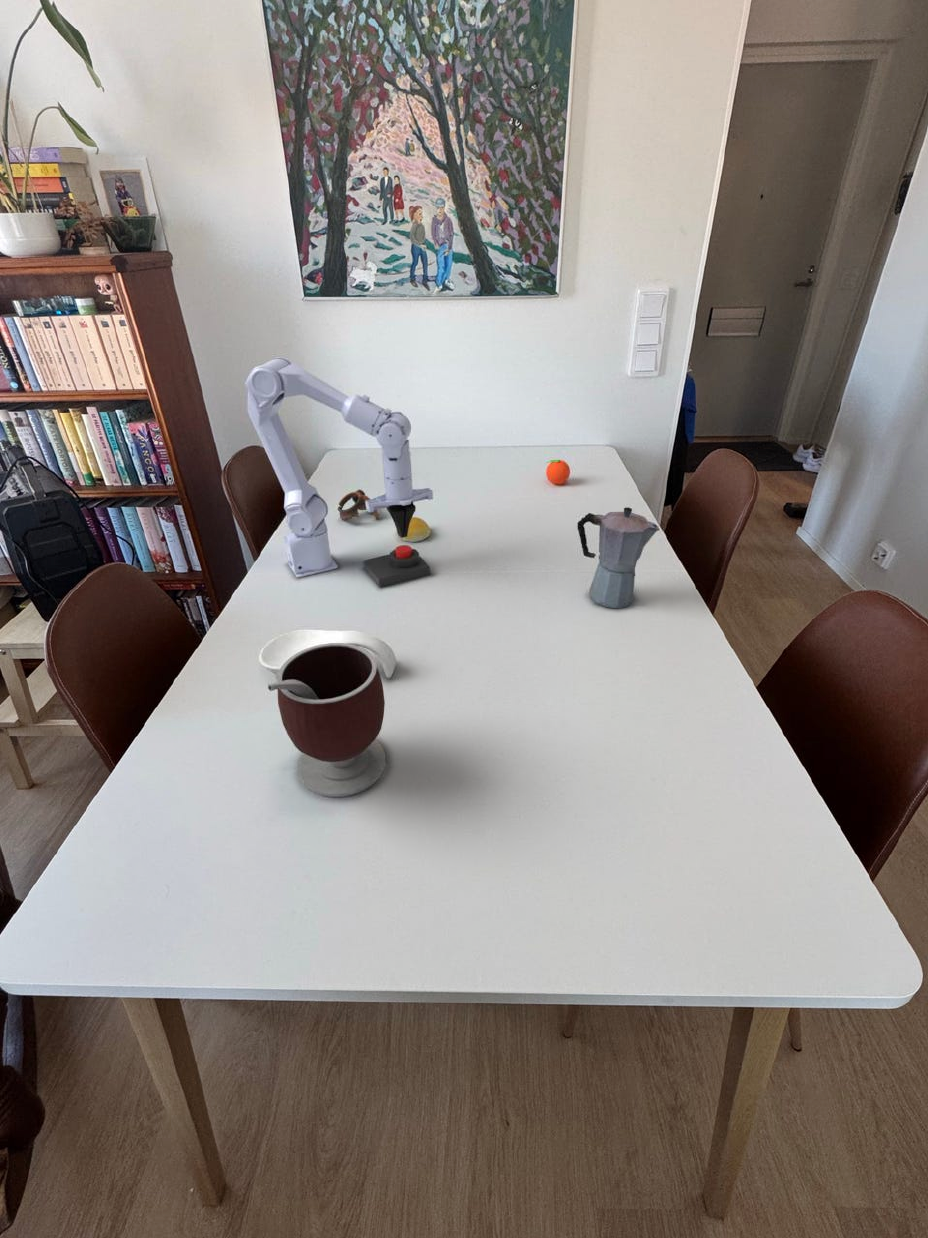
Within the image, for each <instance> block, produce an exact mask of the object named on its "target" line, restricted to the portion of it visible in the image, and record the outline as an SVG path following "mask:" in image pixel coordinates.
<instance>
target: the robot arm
mask: <svg viewBox="0 0 928 1238" xmlns="http://www.w3.org/2000/svg"><path fill="white" fill-rule="evenodd" d="M244 384H245V387H246V389H247V413H248V416H249V417H250V418H249V419H250V421H251V422H252V425H253V427H254V429H255V431H256V434H257V436H258V438H259V440H260V442H261V444H262V447H263V450H264V451H265V453H266V455H267V457H268V460H269V462H270V464H271V466H272V468H273V470H274V473H275V475H276V477H277V479H278V482H279V484H280V486H281V488H282V490H283V492H284V503H283V509H284V511H285V513H286V524H287V527H288V528H289V530H290V531H291V532H289V533H285V534H283V535H284V536H283V537H284V539H283V540H284V545H285V550H286V556H287V561H288V562H287V564H288V566H289V567H290V569H291V570H292V572H293V574H294V576H295V577H296V578H302V577H307V576H311V575H314V574H315V575H316V574H319V573H323V572H327V571H331V570H336V569H338V568H339V566H338V564H337V563H336V562H335V561H334V559H333V558H332V553H331V545H330V540H329V533H328V526H327V523H326V520H325V518H326V517H327V516H328V513H329V506H328V503H327V501H326V500H325V499H324V497H322V496H321V495H320V494H319V492H318V489H317V488H316V486H314V485H312V484H310V483H309V481H308V479H307V477H306V474H305V472H304V470H303V468H302V465H301V462H300V461H299V458H298V456H297V453H296V451H295V449H294V447H293V445H292V442H291V440H290V438H289V435H288V434H287V430H286V428H285V427H284V424H283V422H282V419H281V416H280V415H279V412H278V411H279V409H280V407H281V405H282V403H283V400H284V398H290V397H297V396H305V397H307V398H309V399H311V400H313V401H316V402H318V403H320V404H322V405H324V406H327V407H329V408H331V409H332V410H335V411H337V412H338V413H341V415H342V418H343V420H344V421H345V423H347V424H349V425H351V426H353V427H354V428H356V429H358V430H360V431H362V432H364V433H366V434H368V435H370V436H371V437H373V438H376V441H377V442H378V444H379V446H381V453H382V454H381V458H382V471H383V482H384V491H385V492H384V493H385V494H382V495H379V496H376V497H374V498H370V499H371V500H367V501H365V503H366V510H365V511H367V512H368V513H369V512H374V510H377V511H378V510H382V509H386V510H387V512H388V513H389V515H390V517H391V519H392V521H393V523H394V525H395V528H396V529H397V530H396V533H397V532H398V533H397V536H398V535H399V536H400V537H401V538H404V537H407V534H408V528H409V524H410V521H411V518H412V517H414V514H415V513H416V505H415V504H414V503H415V502H419V501H424V500H428V501H430V500H434V493H433V492H434V491H433V490H432V489H431V488H430V487H426V488H416V489H413V474H412V459H411V451H410V439H408V438H409V437H410V435H411V431H412V424H411V421H410V419H409V418H408V417H407V416H406V415H404V414H403V413H402V412H401V411H392V409H390V408H388V407H387V408H386V409H385V408H383V407H382V406H380V405H378V404H376V403H374V402H373V401H371V400H370V398H371V397H370V396H368V395H366V394H363V395H362V396H361V395H359V394H355V395H352V396H348V395H347V394H345V393H343V392H342V391H340V390H339V389H337V388H335V387H333V386H332V385H330V384H329V383H327V382H325V381H324V380H322V379H321V378H318V377H317V376H316V375H313V373H311V372H309V371H307V370H306V369H305V368H304V367H303V366H302V365H300V364H298V363H296V362H291V361H290V360H289V359H288V358H285V357H281V356H278V357H274V358H272V359H270V360H269V361H267V362H265V363H264V364H261V365H258V366H256V367H254V368H253V369H251V371H250V373H249V375H248V377H247V379H246V381H245V382H244ZM399 536H398V537H399Z"/></svg>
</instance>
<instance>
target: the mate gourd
mask: <svg viewBox="0 0 928 1238" xmlns="http://www.w3.org/2000/svg"><path fill="white" fill-rule="evenodd" d="M381 677H382V676H381V673H380V671H379V668H378V666H377V661H376V659H375V657H374V656H373V654H372V653H370V651H369V650H368V649H367V650H366V648H363V647H360V646H356V645H352V644H345V643H328V644H321V645H317V646H313V647H310V648H307V649H304V650H302V651H300V652H298V653H296V654H295V655H293V656H292V657H290V658H289V659H288V660H287V661H286V662H285V663H284V664H283V665H282V667H281V668H280V670H279V673H278V674H277V678H276V679H277V680H276V682H274V683H273V682H271V683H269V684H267V689H268V691H270V692H274V691H275V690H277V705H278V709H279V714H280V718H281V722H282V725H283V727H284V730H285V732H286V735H287V736H288V737H289V739H290V740H291V742H292V745H294V747H295V749H297V750H298V751H299V752H300V753H302V754H303V755H302V758H301V760H300V762H299V775H300V777H301V781H302V782H303V784H304V786H305V787H306V788H307V789H308V790H309V791H311V792H313V793H315V794H317V795H320V796H323V797H328V798H342V797H350V796H352V795H356V794H358V793H361V792H363V791H365V790H367V789H368V788H369V787H371V786H372V785H373V784H375V783H376V782H377V781H378V780H379V778H380V777H381V775H382V774H383V772H384V770H385V767H386V761H387V760H386V754H385V750H384V747H383V746H382V744H381V743H380V742H379V741H378V740H377V737H378V736H379V734H380V733H381V730H382V726H383V722H384V717H385V706H386V704H385V703H386V702H385V701H386V700H385V693H384V684H383V680H382V678H381Z"/></svg>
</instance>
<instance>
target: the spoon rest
mask: <svg viewBox="0 0 928 1238" xmlns="http://www.w3.org/2000/svg"><path fill="white" fill-rule="evenodd" d="M328 643H345V644H352V645H356V646H359V647H361V648H363V649H365V650H366V649H367V651H369V652H370V651H371V652H372V653H374V655H376V656H377V657H378V659H379V660H380V662H381V665H382V668H383V670H384V675H385V677H386V678H388V679H391V678H392V676H393V674H394V671H395V668H396V666H397V658H396V655H395V652H394V651H393V649H392V648H391V646H389V645H388V643H386V642H385V641H384V640H383V639H381V638H379V637H377V636H375V635H372V634H369V633H367V632H362V631H358V630H327V629H326V630H325V629H297V630H292V631H288V632H284V633H283V634H282V633H281V634H280V635H278V636H276V637H273V638H271V640H269V641H268V642H267V643H266V644H265V645H264V646H263V647H262V649H261V650H260V652H259V655H258V660H259V664H260V665H261V666H262V667H263V668H265V669H266V670H267V671H269V672H271V673H273V674H276V675H278V673H279V670H280V668H281V667H282V665H283V664H284V663H285V662H286V661H287V660H288V659H289V658H290V657H292V656H293V655H295V654H296V653H298V652H300V651H302V650H304V649H307V648H310V647H313V646H317V645H321V644H328Z"/></svg>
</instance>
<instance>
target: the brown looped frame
mask: <svg viewBox="0 0 928 1238" xmlns="http://www.w3.org/2000/svg"><path fill="white" fill-rule="evenodd" d="M371 499H372V498H370V497H369V496H367V495H366V493H365V491H363V489H358V490H356V491H352V492H349V493H347V494H346V495H344V496H343V497H342V498H341V499H340V501H339V502H338V506H337V511H338V512H339V518H340V519H341V520H342V521H344V520H346V521H347V520H350V519H352V518H360V516H359V511H367V510H366V503H365V501H367V500H371ZM350 500H352V501H353V503H354V504H353V505H351V506H350V507H349V508H347V509H343V508H344V506H345V505H346V504H348V502H349V501H350ZM368 514H373V516H374V517H375V520H376V521H378V520H379V518H380V516H379V512H378V510H374V512H368Z"/></svg>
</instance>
